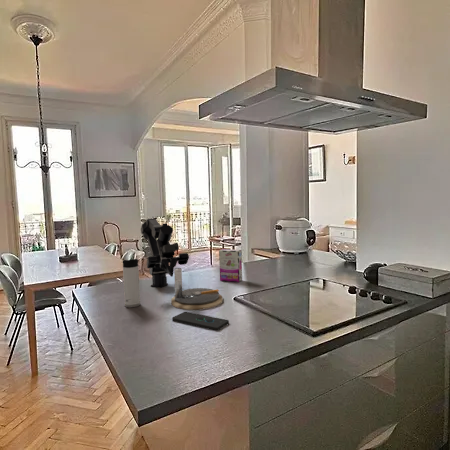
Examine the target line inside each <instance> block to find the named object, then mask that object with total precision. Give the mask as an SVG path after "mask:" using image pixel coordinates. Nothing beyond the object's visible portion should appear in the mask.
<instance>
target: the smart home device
mask: <svg viewBox="0 0 450 450" xmlns="http://www.w3.org/2000/svg"><path fill="white" fill-rule="evenodd" d="M171 319H172V322H175V323H179V324H184V325H189V326H193V327H197V328H202V329H207V330H211V331H215V332H218V331H220V330H221V329H223V328H225V327H226V326H228V325H229V323H230V320H229V319H225V318H224V319H223V318H221V317H219V318H218V317H214V316H210V315H204V314H200V313H196V312H195V313H194V312H191V311H183V312H181V313H178V314H177V315H175V316H173V317H171Z"/></svg>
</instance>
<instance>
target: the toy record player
mask: <svg viewBox="0 0 450 450" xmlns="http://www.w3.org/2000/svg"><path fill="white" fill-rule="evenodd" d="M182 274H183V272H182V268H181V267H176V268H175V267H174V271H173V276H174V296H175V301H176V302H178V303H181V304H186V305H202V304H208V303H212V302H214V301H216V300H218V299H219V294H220V293H219V292H220V290H219V289H212V288H206V287H204V288H203V287H199V288H198V287H195V288H187V289H183V277H182V276H183V275H182Z"/></svg>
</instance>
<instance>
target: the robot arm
mask: <svg viewBox="0 0 450 450" xmlns="http://www.w3.org/2000/svg"><path fill="white" fill-rule="evenodd" d="M173 231H174V228H173V227H172V226H171V225H168V223H162V225H161V223H159V222H158V220H157V219H156V218H146V220H145V222H143V223H142V224H141V226H140V233H141V235H142V237H143V239H145V240H146V241H147V245H148V247H149V251H150V254H151V255H150V256H148V257H147V259H146V268H147V269H149V274H150V276H151V277H152V284H151V285H150V287H154V288H163V287H165V286H167V285H169V283H167V282H168V280H167V274H168V275H169V276H170V277H174V269H175V267H176V266H177V264H178V265H180V266H183V265H187V264H188V261H189V258H190V256H189V254H188V253H187V252H185V253H179V254H178V256H175V252H176V251H178V250H180V246H179V243H178V242H174V243H170V241H171V239H172V236H173V233H174V232H173Z"/></svg>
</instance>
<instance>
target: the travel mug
mask: <svg viewBox="0 0 450 450" xmlns="http://www.w3.org/2000/svg"><path fill="white" fill-rule="evenodd" d="M139 273H140V269H139V259H138V258H133V259H132V258H131V259H123V260H122V276H123V278H122V279H123V293H124V306H125V308H137V307H139V306H140V305H141V297H140V296H141V295H140V294H141V292H140V291H141V290H140V274H139Z"/></svg>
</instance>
